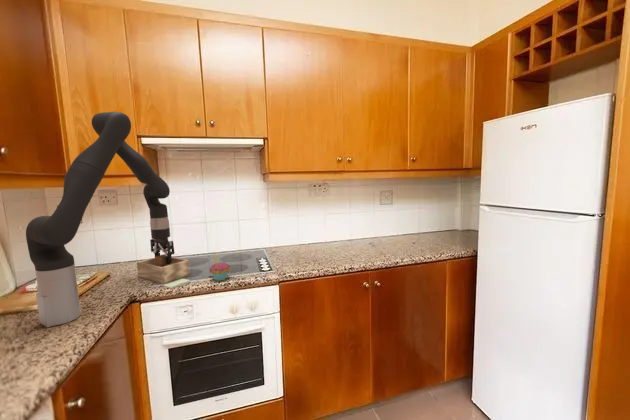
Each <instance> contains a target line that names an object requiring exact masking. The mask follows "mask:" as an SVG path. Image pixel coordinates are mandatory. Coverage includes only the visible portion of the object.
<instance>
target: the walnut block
mask: <svg viewBox="0 0 630 420" xmlns="http://www.w3.org/2000/svg"><path fill="white" fill-rule="evenodd" d="M154 258H155V265H156V266H159V267H164V266H168V265H171V264H166V255H165V253H163V254H160V255H159V256H155V255H154Z"/></svg>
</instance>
